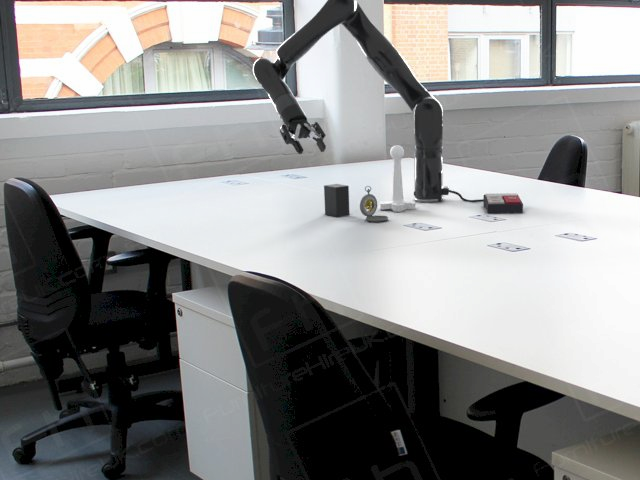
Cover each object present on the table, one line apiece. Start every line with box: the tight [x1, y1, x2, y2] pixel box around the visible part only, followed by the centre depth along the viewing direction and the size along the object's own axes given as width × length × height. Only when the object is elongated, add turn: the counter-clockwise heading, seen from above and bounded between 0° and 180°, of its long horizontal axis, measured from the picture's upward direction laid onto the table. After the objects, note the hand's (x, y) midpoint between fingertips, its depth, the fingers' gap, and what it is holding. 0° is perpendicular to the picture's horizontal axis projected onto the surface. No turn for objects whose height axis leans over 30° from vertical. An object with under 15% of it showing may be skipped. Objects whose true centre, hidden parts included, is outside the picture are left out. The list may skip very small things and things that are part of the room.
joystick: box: [379, 144, 417, 213], centre depth 330 cm, size 11×8×20 cm
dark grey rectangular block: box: [323, 183, 350, 218], centre depth 326 cm, size 6×5×9 cm
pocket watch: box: [359, 185, 389, 223], centre depth 316 cm, size 8×8×10 cm
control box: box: [482, 192, 524, 215], centre depth 331 cm, size 11×4×15 cm
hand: (312, 151), depth 330 cm, fingers open, 8 cm apart
